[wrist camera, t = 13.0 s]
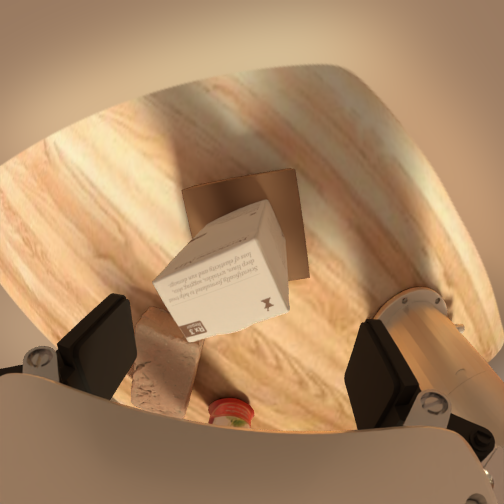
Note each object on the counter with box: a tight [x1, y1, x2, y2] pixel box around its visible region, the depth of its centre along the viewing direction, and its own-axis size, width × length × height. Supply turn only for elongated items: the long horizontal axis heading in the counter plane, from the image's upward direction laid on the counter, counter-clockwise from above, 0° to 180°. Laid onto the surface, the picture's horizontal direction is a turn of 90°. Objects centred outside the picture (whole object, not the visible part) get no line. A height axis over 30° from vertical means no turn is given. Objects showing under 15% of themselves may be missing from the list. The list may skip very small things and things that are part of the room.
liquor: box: [208, 398, 254, 429], centre depth 25 cm, size 7×7×28 cm
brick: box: [131, 307, 204, 419], centre depth 34 cm, size 17×8×5 cm, turn 164°
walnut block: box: [182, 168, 310, 281], centre depth 27 cm, size 10×10×5 cm
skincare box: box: [153, 199, 290, 342], centre depth 19 cm, size 6×4×12 cm
